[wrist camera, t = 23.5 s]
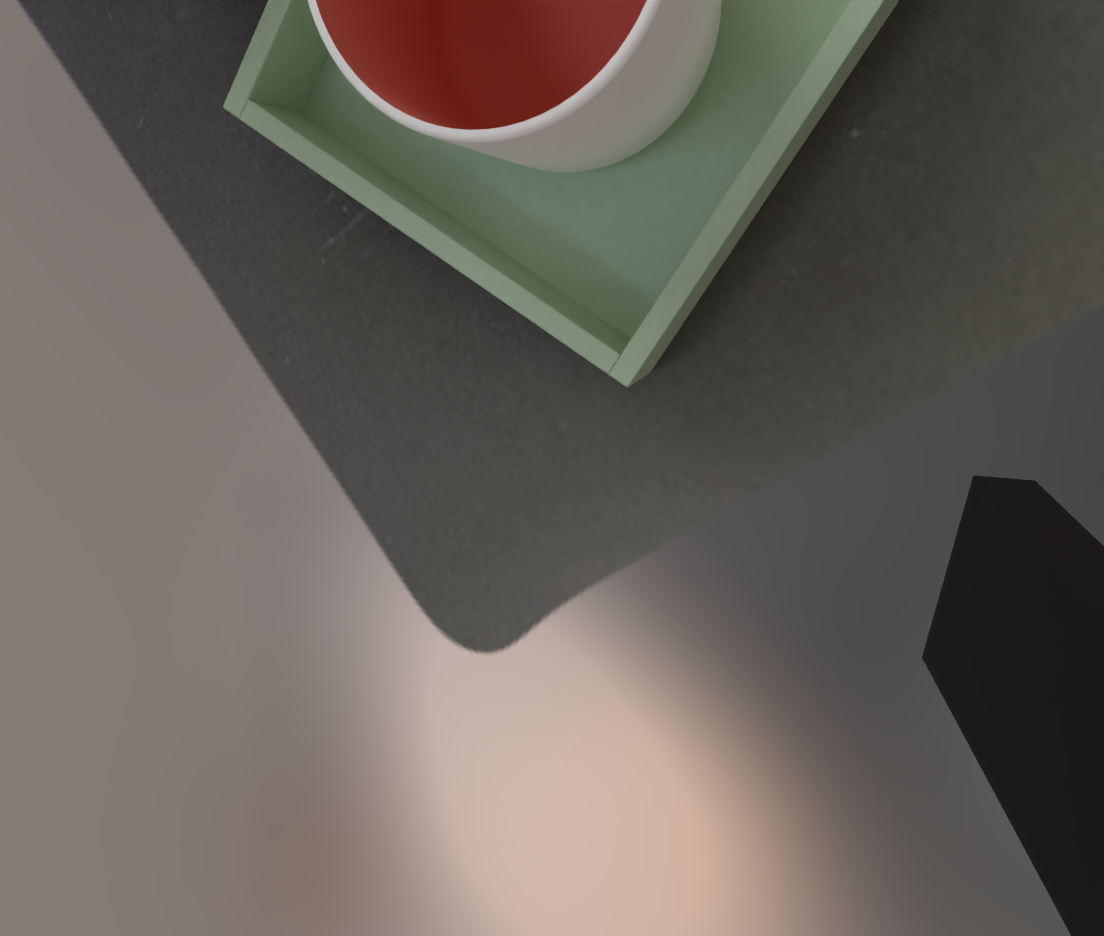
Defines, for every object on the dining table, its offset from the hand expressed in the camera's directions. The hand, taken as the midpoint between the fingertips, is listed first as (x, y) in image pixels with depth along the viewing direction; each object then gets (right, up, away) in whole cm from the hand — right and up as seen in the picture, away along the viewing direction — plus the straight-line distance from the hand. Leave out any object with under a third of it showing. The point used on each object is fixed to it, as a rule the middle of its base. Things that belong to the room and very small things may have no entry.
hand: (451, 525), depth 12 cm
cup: (+2, +16, +20) cm, 26 cm away
